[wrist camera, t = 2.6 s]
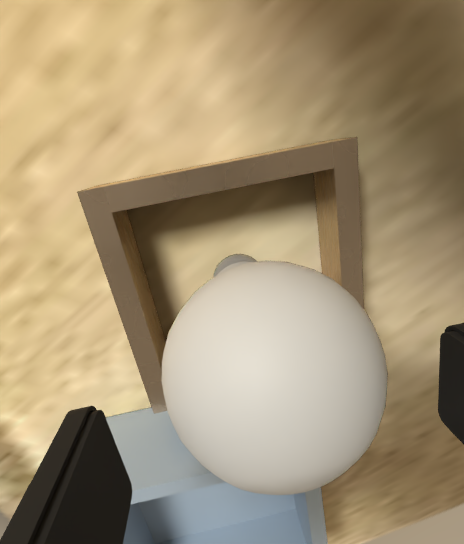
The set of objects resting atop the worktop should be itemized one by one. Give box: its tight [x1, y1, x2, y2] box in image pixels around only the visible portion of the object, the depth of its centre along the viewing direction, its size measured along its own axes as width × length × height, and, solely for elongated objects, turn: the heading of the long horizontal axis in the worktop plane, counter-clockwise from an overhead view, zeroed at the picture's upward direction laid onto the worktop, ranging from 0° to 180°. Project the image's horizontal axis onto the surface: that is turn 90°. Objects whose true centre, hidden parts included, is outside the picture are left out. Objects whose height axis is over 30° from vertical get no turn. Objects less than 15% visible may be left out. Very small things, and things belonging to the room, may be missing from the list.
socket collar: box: [77, 137, 364, 414], centre depth 16 cm, size 11×11×2 cm
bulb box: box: [106, 407, 328, 544], centre depth 19 cm, size 12×12×5 cm
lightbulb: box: [162, 254, 388, 495], centre depth 12 cm, size 6×6×11 cm
